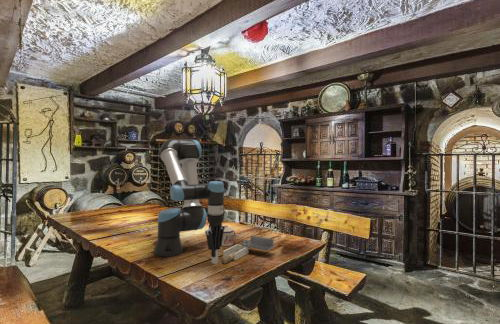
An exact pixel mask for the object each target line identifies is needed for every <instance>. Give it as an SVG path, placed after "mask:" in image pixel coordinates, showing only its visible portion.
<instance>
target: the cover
mask: <svg viewBox="0 0 500 324" xmlns="http://www.w3.org/2000/svg"><path fill="white" fill-rule="evenodd" d="M274 242H275V240H274V239H273V238H269V237H265V236H264V237H262V236H257V235H252V234H251V235H250V239H249V240H248V239H242V242H241V244H242V246H246V247H249V248H252V249H255V250H256V249H257V250H261V251H266V252H267V251H268V252H269V251H270V250H271V249H273V248H275V244H274Z"/></svg>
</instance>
